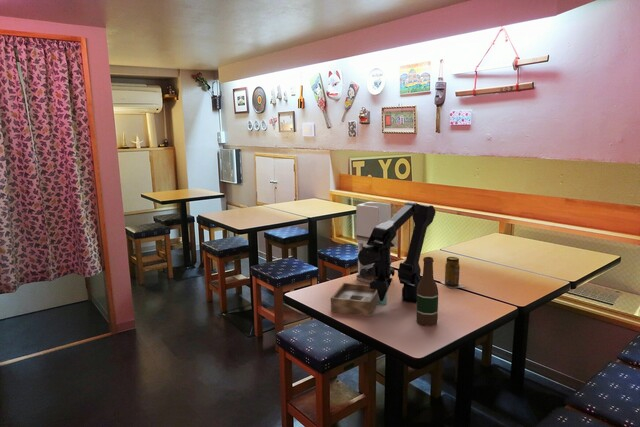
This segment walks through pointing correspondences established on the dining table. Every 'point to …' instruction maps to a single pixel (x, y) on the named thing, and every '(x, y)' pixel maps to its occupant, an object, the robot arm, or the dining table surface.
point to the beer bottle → (427, 296)
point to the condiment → (452, 273)
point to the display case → (369, 226)
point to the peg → (384, 302)
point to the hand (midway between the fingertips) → (382, 299)
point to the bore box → (354, 299)
